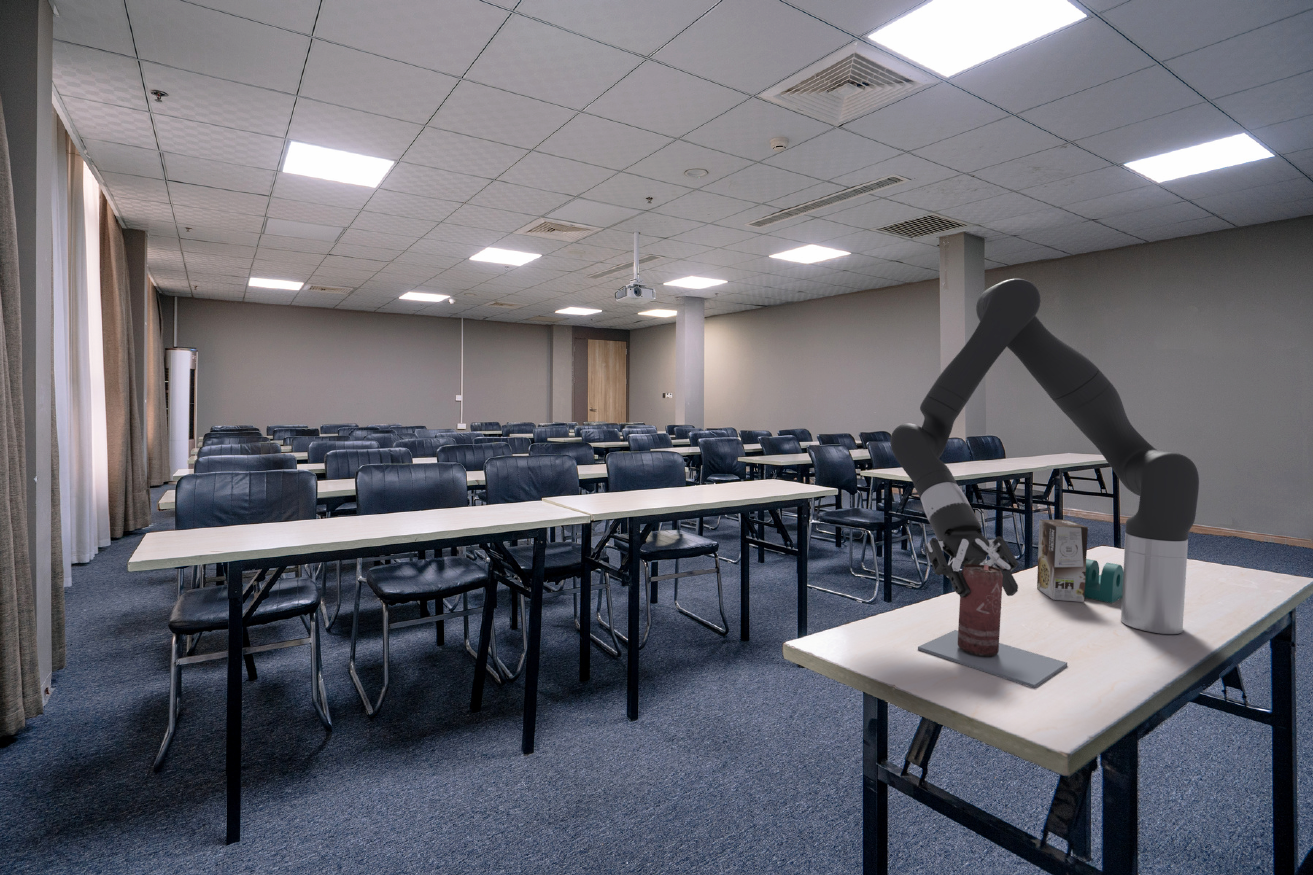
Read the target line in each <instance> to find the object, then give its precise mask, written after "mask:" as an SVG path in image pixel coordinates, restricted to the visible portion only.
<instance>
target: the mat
mask: <svg viewBox="0 0 1313 875" xmlns="http://www.w3.org/2000/svg"><path fill="white" fill-rule="evenodd" d="M917 650H919V651H922V652H924V653H926V654H930V655H933V656H936V657H939V658H942V659H945V660H947V661H951V662H953V663H957V664H961V665H964V666H965V667H966V666H967V667H970V668H972V669H975V670H978V671H981V672H984V673H987V674H990V675H993V676H997V677H999V678H1003V679H1005V680H1008V681H1012V682H1015V683H1017V684H1021V685H1024V686H1027V687H1029V688H1032V689H1035V688H1037V687H1039V686H1040V685H1042V684H1043V683H1044V682H1046V681H1047V680H1049V679H1051V678H1052V677H1053V676H1054V675H1056V674H1057V673H1059V672H1060V671H1062V670H1063V669H1065V668H1066V667H1067V666H1068V662H1066V661H1063V660H1060V659H1056V658H1053V657H1050V656H1045V655H1042V654H1038V653H1036V652H1032V651H1029V650H1026V649H1021V648H1018V647H1015V646H1011V645H1007V644H1004V643H1001V642H999V652H998V653H997V654H996V655H995V656H992V657H982V656H976V655H972V654H969V653H966V652H964V651H962V650H961V649H960V648H959V646H958V630H957V629H954V630H951V631H950V632H947V633H945V634H943V635H940V636H938V637H936V638H934V639H932V640H930V641H927V642H925V643H923V644H921V645H919V646H917Z"/></svg>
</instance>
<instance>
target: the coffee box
mask: <svg viewBox="0 0 1313 875" xmlns="http://www.w3.org/2000/svg"><path fill="white" fill-rule="evenodd" d="M1038 522H1039V524H1038V525H1039V526H1038V545H1037V547H1038V548H1037V550H1038V551H1037V576H1036V579H1037V582H1036V589H1037V590H1039V592H1042V593H1043V594H1044V595H1046V596H1047V597H1048V598H1051V599H1052V600H1053V601H1055V600H1056V601H1064V602H1065V601H1067V602H1077V603H1078V602H1079V603H1084V601H1085V597H1084V594H1085V574H1086V559H1087V555H1088V554H1087V553H1088V552H1087V551H1088V536H1089V535H1088V534H1089V533H1088V532H1089V527H1088V526H1086V525H1083V524H1081V523H1078V522H1075V521H1072V520H1070V519H1038Z"/></svg>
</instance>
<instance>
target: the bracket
mask: <svg viewBox="0 0 1313 875" xmlns="http://www.w3.org/2000/svg"><path fill="white" fill-rule="evenodd" d="M1123 569H1124V567H1123V566H1122V565H1121V564H1119V563H1118V564H1117V563H1112V562H1106V563H1105V564H1104V565H1103V567H1102V570H1101V574H1100V565H1099V561H1097V560H1095V559H1089V558H1086V574H1085V594H1084V598H1087V599H1090V600H1091V599H1092V600H1097V601H1100V602H1105V603H1108V604H1109V603H1110V604H1113V603H1115V602H1116V601H1119V600H1120V599H1122V588H1123ZM1118 599H1119V600H1118Z"/></svg>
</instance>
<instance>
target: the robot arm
mask: <svg viewBox="0 0 1313 875" xmlns="http://www.w3.org/2000/svg"><path fill="white" fill-rule="evenodd" d="M1041 301H1042V300H1041V294H1040V290H1039V289H1038V288H1037V286H1036V285H1035V284H1034V283H1033V282H1031V281H1029V280H1026V279H1023V278H1010V279H1006V280H1003V281H1000V282H999V283H997V284H994V285H993V286H991V287H989V288H987V289H986V290H984V291H983V292H982V293H981V295H980V296H979V297H978V299H977V301H976V302H977V303H976V304H975V305H976V308H975V310H976V315H977V316H976V317H977V318H978V320H979V323H978V325H977V327H976V328H975V329H974V330H975V331H973V333H972V335H971V336H970V338H969V339H968V341H967V342H966V343H965V345H964V346H963V347H962V348H961V350H960V351H959V352H958V353H957V354H956V356H954V358H953V359H952V360H951V361H950V362H949V364H947V366H946V367H945V368H944V369H943V371H942V372H941V373H940V374H939V376H938V377H937V379H936V380H935V382H934V383H933V385H932V386H931V388H930V389H929V390H928V392H927V394H926V395H925V396H924V399H923V400H922V402H921V404H920V407H919V410H920V412H921V414H922V415H923V417H924V420H923V422H922V426H919V425H918V424H914V423H909V422H908V423H907V422H906V423H902V424H899V425H898V426H897V427H896V428H894V429H893V431H892V433H891V435H890V443H889V444H890V449H891V452H892V453H893V455H894V458H895V460H896V461H897V462H898V463H899V465H900V466H901V468H902V469H903V470H904V472H905V473H906V475H907V476H908V477H909V479H910V480H911V482H912V483H913V486H914V488H915V490H916V494H917V495H918V497H919V499H920V501H921V503H922V504H921V505H922V508H923V511H924V514H925V516H926V518H927V520H928V522H929V524H930V526H931V528H932V531H933V533H934V535H935V537H932V538H931V539H930V540H929V541H928V543H927V544H925V550H926V553H927V556H928V558H929V561H930V563H931V565H932V570H933V571H934V574H935V575H937V576H941V575H942V576H946V577H947V578H948V579H949V581H950V584H951V585H952V587H953V589H954V591H955V593H956V594H957V595H958V596H959V598H960V597H961V598H965V597H967V596H968V595H969V594H970V588H969V586H968V584H967V582H966V580H965V578H964V576H963V574H962V572H961V571H960V569H961V566H964V565H966V564H979V565H989V566H992V567H995V568H998V569H1000V570H1001V573H1002V575H1003V581H1002V590H1004V592H1005V594H1006V596H1007V597H1011V596H1014V595H1016V594H1017V593H1018V590H1019V585H1018V583H1017V581H1016V580H1015V577H1014V575H1013V574H1012V572H1013V571H1014V569H1016V568H1017V567H1018V566H1019V562H1018V560H1017V558H1016V557H1015V556H1014V554H1013V553H1012V551H1011V549H1010V547H1009V546H1008V544H1007V543H1006V541H1005V539H1004V538H1003V537H1002V536H1000V535H998V536H996V537H995V538H994V539H988V538H986V536H984V534H983V531H982V525H981V523H980V521H979V519H978V517H977V515H976V514H975V512H974V510H973V508H972V506H971V505H970V504H971V503H970V502H969V501H968V498H967V496H966V494H965V493H964V492H963V491H962V490H961V488H960V486H959V485H958V483H957V481H956V478H955V477H954V475H953V472H951V470H950V469H949V467H948V466H947V465H946V464H945V463H944V462H943V461H942V460H941V459H940V457H941V456H942V455H943V453H944V451H945V449H946V447H947V444H948V441H949V438H950V435H951V433H952V430H953V427H954V424H955V421H956V419H957V418H958V416H960V414H961V412H962V410H964V408H965V407H966V405H967V403H969V402H968V401H969V400H970V399H971V397H972V396H973V394H974V392H975V391H976V389H977V388H978V386H979V385H980V383H981V382H982V381H983V379H984V378H985V376H986V375H987V373H988V372H989V370H990V369H991V368H992V366H993V364H995V362H996V361H997V359H998V358H999V357H1000V355H1001V354H1002V353H1003V352H1004V350H1005V349H1006V348H1007V349H1009V351H1010V352H1012V353H1013V354H1014V356H1016V357H1017V358H1018V360H1019V361H1020V362H1021V363H1022V365H1023V366H1024V367H1025V369H1026V370H1027V371H1028V372H1029V373H1030V376H1032V377H1033V379H1034V380H1035V381H1036V382H1037V383H1038V385H1039V386H1040V387H1041V388H1042V389H1043V390H1044V392H1046V394H1047V395H1048V396H1049V397H1050V399H1051V400H1052V401H1053V402H1054V403H1055V404H1056V406H1057V407H1058V408H1059V409H1060V410H1061V411H1062V412H1063V413H1064V414H1065V416H1066V417H1068V418H1069V419H1070V420H1071V421H1072V423H1073V424H1074V425H1075V426H1076V427H1077V428H1078V429H1079V431H1081V433H1083V435H1084V436H1085V437H1086V438H1087V439H1088V441H1090V442H1091V443H1092V444H1093V446H1095V447H1096V448H1097V450H1098V451H1099V453H1100V454H1101V455H1102V456H1103V457H1104V459H1105V461H1106V462H1107V463H1108V464H1109V466H1110V468H1111V469H1112V471H1113V472H1114V473H1115V475H1116V477H1117V479H1119V481H1120V482H1121V483H1122V484H1123V486H1124V487H1125V488H1126V489H1127V490H1128V491H1129V492H1132V493H1133V494H1134V495H1136V496H1139V503H1138V508H1137V512H1136V513H1135V514H1134V515H1133V516H1130V517H1128V518H1126V521H1125V531H1124V532H1125V533H1124V535H1125V536H1124V549H1123V550H1124V553H1123V588H1122V598H1121V608H1120V610H1121V612H1120V622H1122V623H1123V624H1125V625H1126V626H1128V627H1130V628H1133V629H1137V630H1141V631H1145V632H1149V633H1155V634H1156V633H1157V634H1162V635H1178V634H1181V633H1183V632H1184V631H1183V630H1184V628H1183V627H1184V615H1185V614H1184V613H1185V598H1186V582H1187V581H1186V580H1187V568H1188V566H1187V565H1188V564H1187V563H1188V548H1189V547H1188V545H1189V543H1188V542H1189V532H1190V531H1191V528H1192V527H1193V526H1194V523H1195V521H1196V515H1197V506H1198V500H1199V499H1198V498H1199V490H1200V477H1199V476H1200V475H1199V471H1198V468H1197V465H1196V464H1195V463H1194V462H1193V460H1192V459H1191V458H1189V457H1188V456H1186V455H1183V454H1182V453H1177V452H1173V451H1172V452H1170V451H1165V450H1164V451H1163V450H1158V449H1157V448H1155V447H1154V446H1153V445H1151V444H1150V442H1148V441H1147V440H1146V439H1145V438H1144V437H1143V436H1142V435H1141V433H1139V432H1138V431H1137V429H1136V428H1135V427H1134V426H1133V425H1132V423H1131V421H1130V420H1129V418H1128V415H1127V413H1126V410H1125V407H1124V404H1123V402H1122V398H1121V396H1120V394H1119V391H1118V390H1117V389H1116V387H1115V386H1114V384H1113V383H1112V382H1111V381H1110V379H1108V378H1107V377H1106V375H1105V374H1104V373H1103V372H1102V371H1101V370H1100V369H1099V367H1097V365H1096V364H1094V363H1093V361H1091V360H1090V359H1089V358H1088V357H1087V356H1085V355H1084V354H1082V352H1081V353H1080V352H1079V351H1078V350H1076V349H1075V348H1073V347H1072V346H1070V345H1069V344H1067V343H1065V342H1064V341H1063V340H1061V339H1059V337H1056V335H1054V334H1052V332H1050V331H1049V329H1047V328H1046V327H1045V326H1044V324H1043V323H1042V322H1041V320H1040V319H1039V318H1038V316H1036V314H1037V313H1038V312H1039V309H1040V306H1041ZM944 553H945V554H947V555H949V560H948V562H947V560H946V557H945V555H944ZM987 557H989V558H990V559H989V560H987Z"/></svg>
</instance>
